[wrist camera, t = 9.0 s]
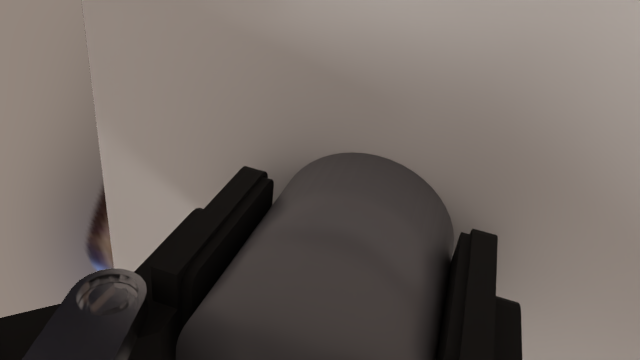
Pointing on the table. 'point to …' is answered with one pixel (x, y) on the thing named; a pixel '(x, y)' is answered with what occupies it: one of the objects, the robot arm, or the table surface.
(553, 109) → the lid
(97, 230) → the table surface
